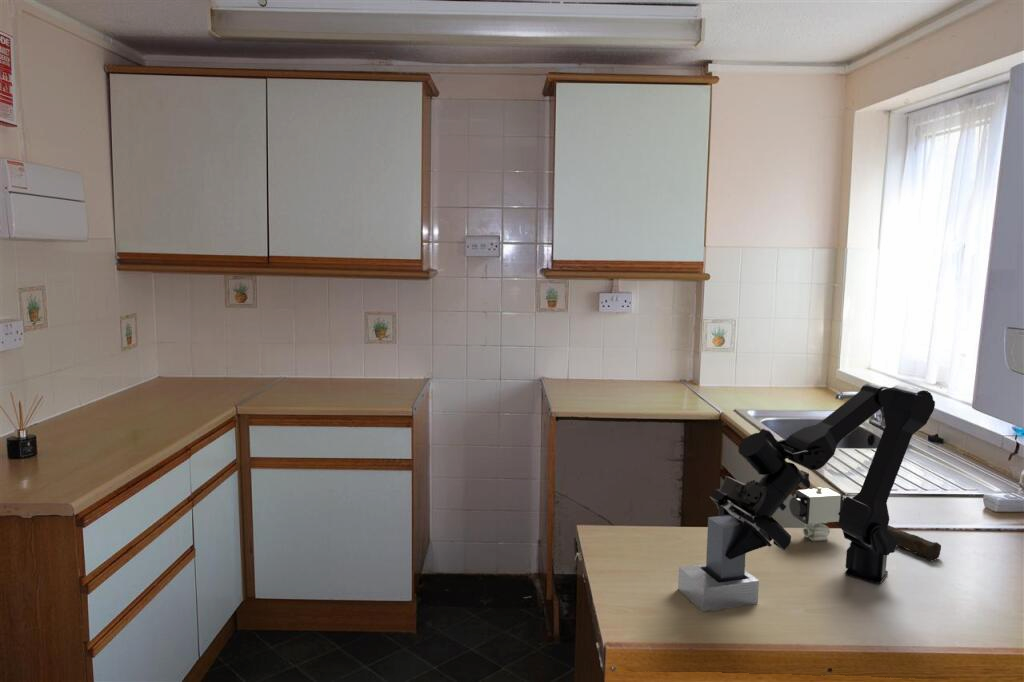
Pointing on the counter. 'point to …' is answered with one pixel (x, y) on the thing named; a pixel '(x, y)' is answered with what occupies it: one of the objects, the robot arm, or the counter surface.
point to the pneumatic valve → (816, 510)
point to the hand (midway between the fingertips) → (719, 551)
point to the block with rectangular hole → (716, 589)
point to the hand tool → (916, 543)
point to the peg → (724, 549)
